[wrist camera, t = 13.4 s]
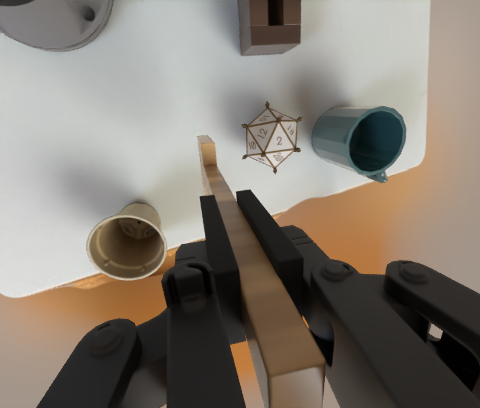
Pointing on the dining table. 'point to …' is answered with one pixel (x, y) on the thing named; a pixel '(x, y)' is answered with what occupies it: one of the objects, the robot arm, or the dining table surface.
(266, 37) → the spatula holder
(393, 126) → the mug
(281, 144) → the twenty-sided die
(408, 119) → the dining table surface
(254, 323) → the spatula
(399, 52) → the dining table surface
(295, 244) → the robot arm
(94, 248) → the flower pot
